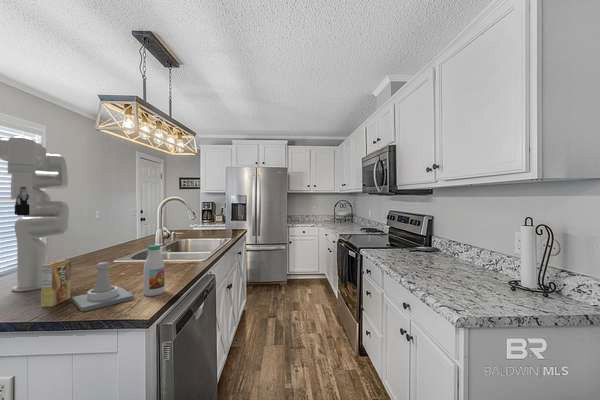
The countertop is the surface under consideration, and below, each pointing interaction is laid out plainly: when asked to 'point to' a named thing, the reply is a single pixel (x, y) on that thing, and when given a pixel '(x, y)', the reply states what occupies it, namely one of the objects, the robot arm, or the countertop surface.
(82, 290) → the countertop surface
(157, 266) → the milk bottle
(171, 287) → the countertop surface
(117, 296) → the collar plate
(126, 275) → the countertop surface
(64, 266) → the candy box
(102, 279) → the grey ball-topped peg
